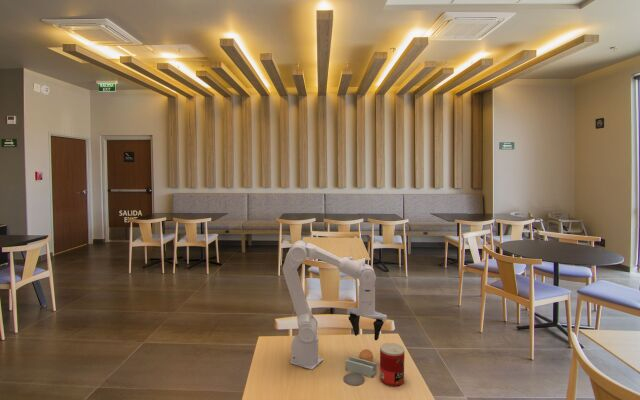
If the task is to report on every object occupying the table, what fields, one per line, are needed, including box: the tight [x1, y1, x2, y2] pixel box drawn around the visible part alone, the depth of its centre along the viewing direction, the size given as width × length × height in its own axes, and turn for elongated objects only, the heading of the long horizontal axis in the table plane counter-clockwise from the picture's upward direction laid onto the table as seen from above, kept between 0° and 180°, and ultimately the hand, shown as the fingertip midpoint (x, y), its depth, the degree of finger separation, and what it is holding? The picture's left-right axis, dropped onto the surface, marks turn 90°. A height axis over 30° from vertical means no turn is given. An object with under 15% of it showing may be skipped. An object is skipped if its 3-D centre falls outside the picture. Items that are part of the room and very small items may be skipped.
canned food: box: [379, 342, 405, 387], centre depth 125 cm, size 8×8×11 cm
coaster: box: [343, 372, 366, 387], centre depth 125 cm, size 7×7×1 cm
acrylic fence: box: [345, 355, 377, 378], centre depth 130 cm, size 10×3×4 cm, turn 60°
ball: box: [358, 349, 374, 362], centre depth 135 cm, size 5×5×5 cm
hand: (366, 336), depth 135 cm, fingers open, 7 cm apart
